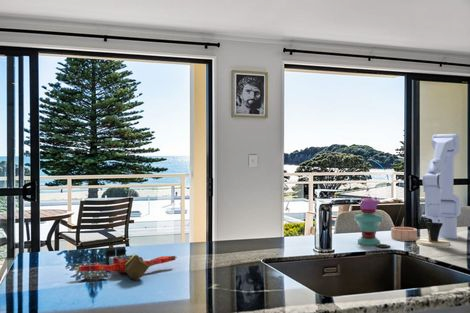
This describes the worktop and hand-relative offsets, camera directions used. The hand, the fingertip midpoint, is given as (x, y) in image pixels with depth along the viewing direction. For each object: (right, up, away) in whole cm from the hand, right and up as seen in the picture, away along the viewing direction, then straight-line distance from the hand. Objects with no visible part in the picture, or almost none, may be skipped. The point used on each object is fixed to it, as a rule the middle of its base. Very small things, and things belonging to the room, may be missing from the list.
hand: (433, 239), depth 176 cm
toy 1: (-110, -4, -37) cm, 116 cm away
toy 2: (-24, -3, +4) cm, 24 cm away
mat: (0, -2, 0) cm, 2 cm away
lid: (0, -2, 0) cm, 2 cm away
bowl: (-7, -3, +12) cm, 14 cm away
